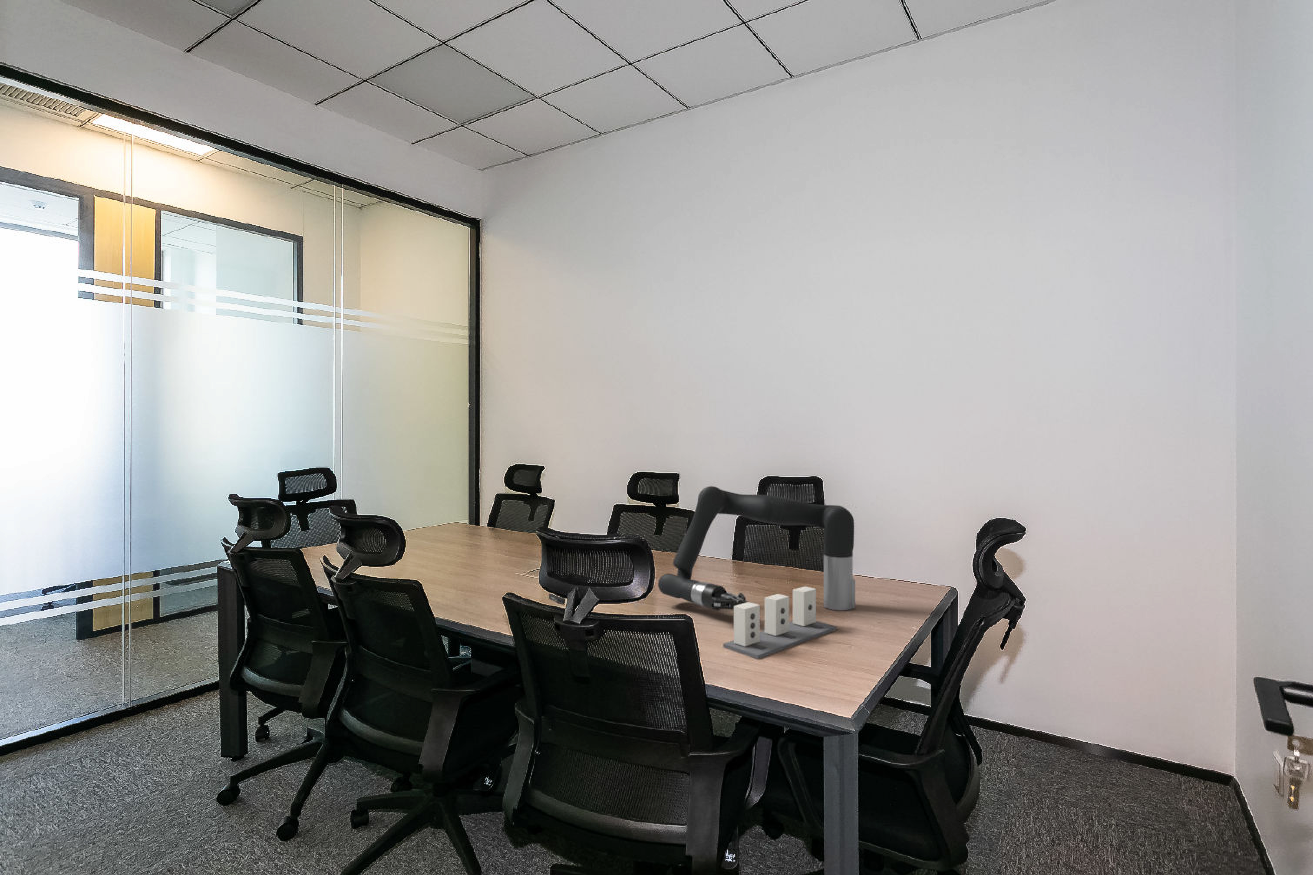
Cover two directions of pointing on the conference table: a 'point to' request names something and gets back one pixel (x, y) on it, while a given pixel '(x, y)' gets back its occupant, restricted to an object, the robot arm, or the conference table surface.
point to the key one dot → (804, 606)
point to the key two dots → (776, 614)
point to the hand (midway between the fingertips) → (750, 606)
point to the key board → (781, 639)
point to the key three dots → (746, 624)
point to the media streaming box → (557, 599)
